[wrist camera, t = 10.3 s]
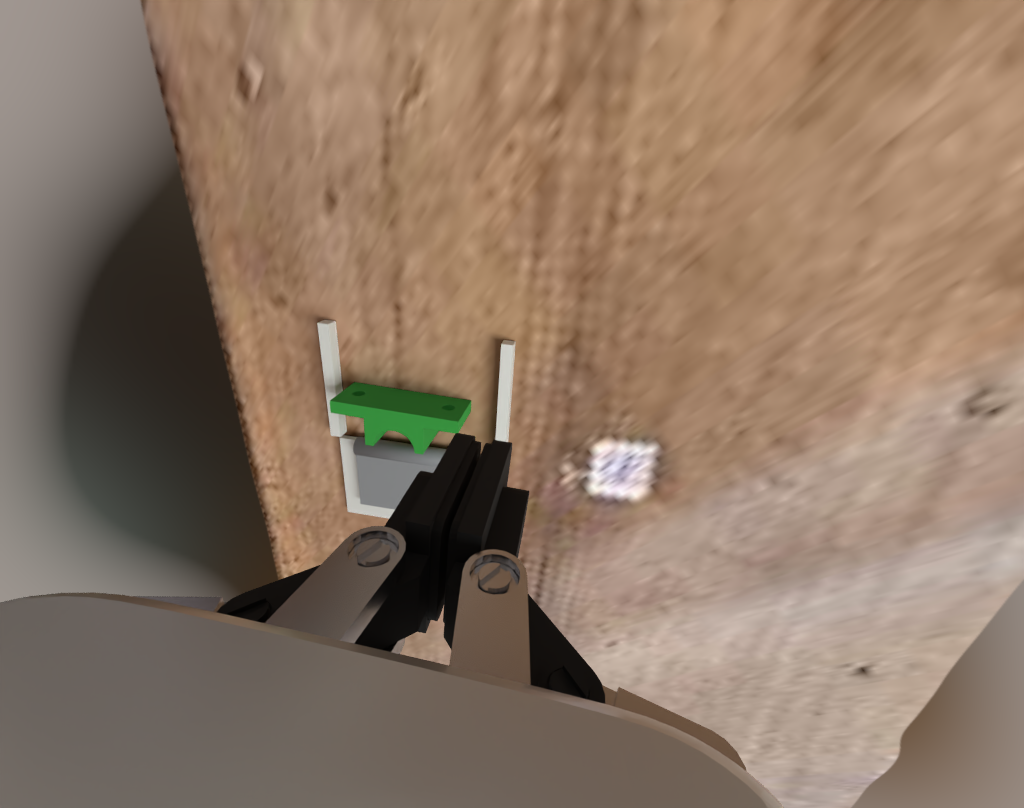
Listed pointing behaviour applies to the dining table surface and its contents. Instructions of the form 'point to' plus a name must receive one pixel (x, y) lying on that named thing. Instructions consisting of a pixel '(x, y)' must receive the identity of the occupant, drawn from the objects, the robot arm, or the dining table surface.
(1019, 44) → the dining table surface
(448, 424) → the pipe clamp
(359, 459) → the hinge base
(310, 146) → the dining table surface
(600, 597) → the dining table surface
